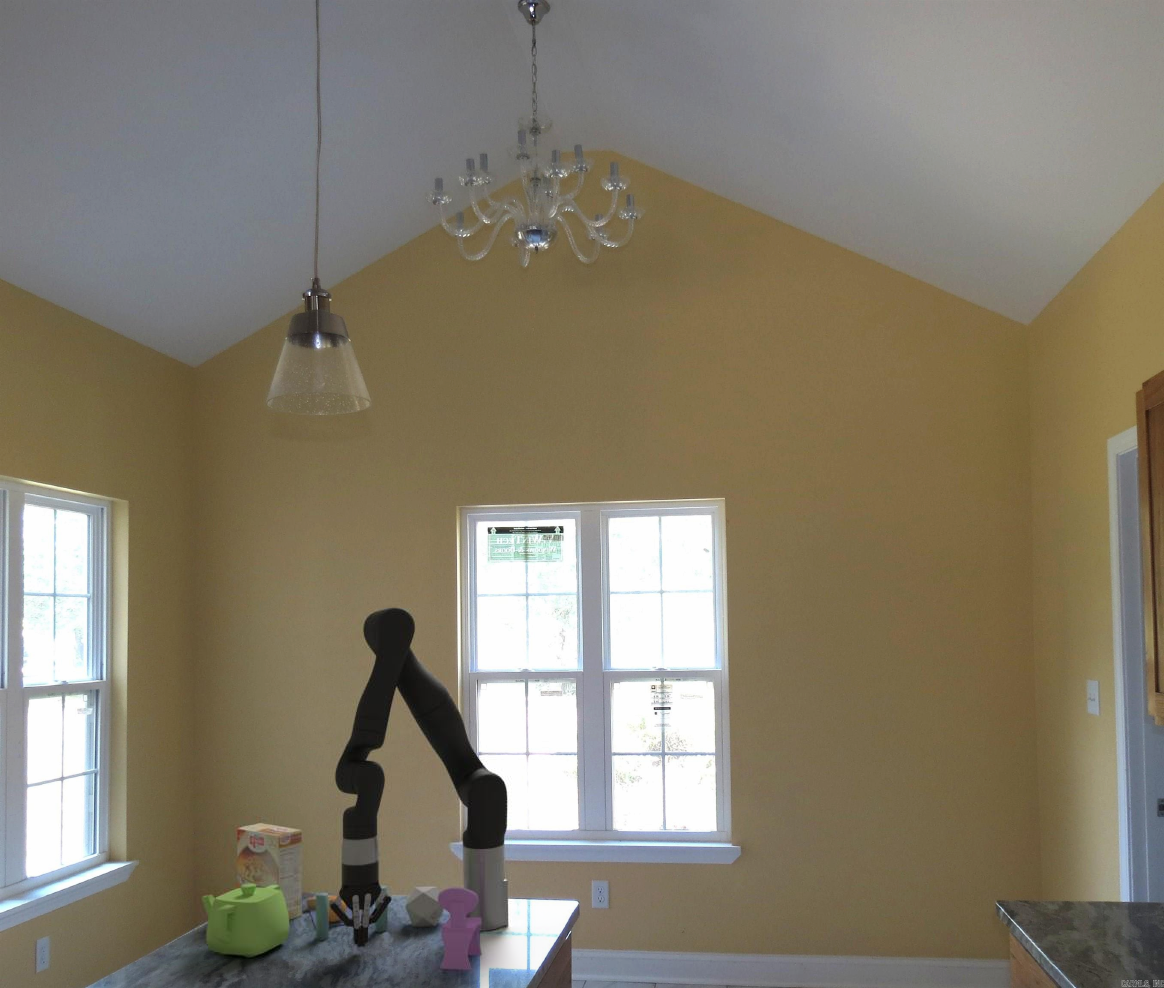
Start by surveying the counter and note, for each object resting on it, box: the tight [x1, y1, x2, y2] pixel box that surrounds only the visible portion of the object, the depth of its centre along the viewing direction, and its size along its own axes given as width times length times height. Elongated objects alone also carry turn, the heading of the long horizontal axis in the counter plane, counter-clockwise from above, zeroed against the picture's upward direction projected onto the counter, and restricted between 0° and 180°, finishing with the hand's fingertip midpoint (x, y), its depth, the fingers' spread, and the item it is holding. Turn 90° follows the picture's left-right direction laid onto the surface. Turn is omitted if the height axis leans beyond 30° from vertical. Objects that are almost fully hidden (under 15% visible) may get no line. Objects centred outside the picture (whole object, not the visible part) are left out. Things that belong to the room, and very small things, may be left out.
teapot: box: [201, 883, 290, 958], centre depth 217 cm, size 18×20×13 cm
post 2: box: [374, 885, 388, 933], centre depth 226 cm, size 3×3×9 cm
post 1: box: [315, 892, 330, 941], centre depth 221 cm, size 3×3×9 cm
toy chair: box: [438, 886, 483, 971], centre depth 206 cm, size 8×9×15 cm
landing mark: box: [309, 905, 375, 929], centre depth 236 cm, size 14×14×1 cm
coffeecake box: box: [236, 822, 303, 921], centre depth 239 cm, size 15×7×20 cm, turn 55°
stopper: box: [306, 893, 339, 912], centre depth 244 cm, size 15×2×2 cm, turn 110°
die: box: [404, 886, 445, 928], centre depth 229 cm, size 8×9×10 cm
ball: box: [329, 896, 346, 923], centre depth 232 cm, size 6×6×6 cm
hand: (360, 945), depth 211 cm, fingers closed
